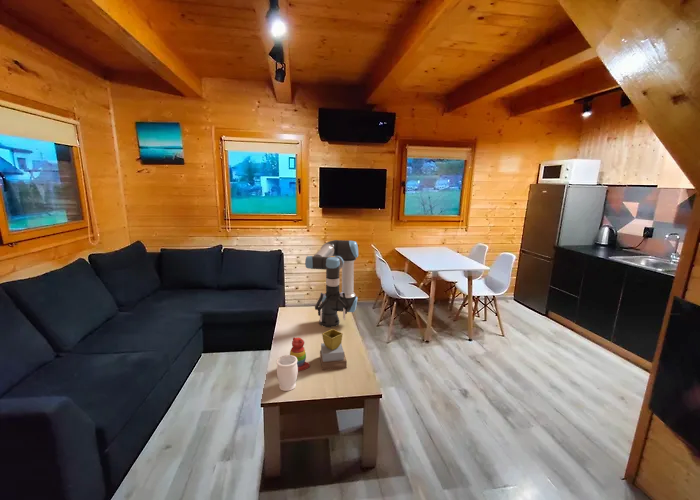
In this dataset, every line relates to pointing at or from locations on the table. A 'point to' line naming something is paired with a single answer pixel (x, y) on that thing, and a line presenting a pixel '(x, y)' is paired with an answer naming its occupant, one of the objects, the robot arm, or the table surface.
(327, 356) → the grey top slab
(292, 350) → the stacking bear
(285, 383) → the jar
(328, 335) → the flower pot
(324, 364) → the walnut base slab
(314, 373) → the table surface
